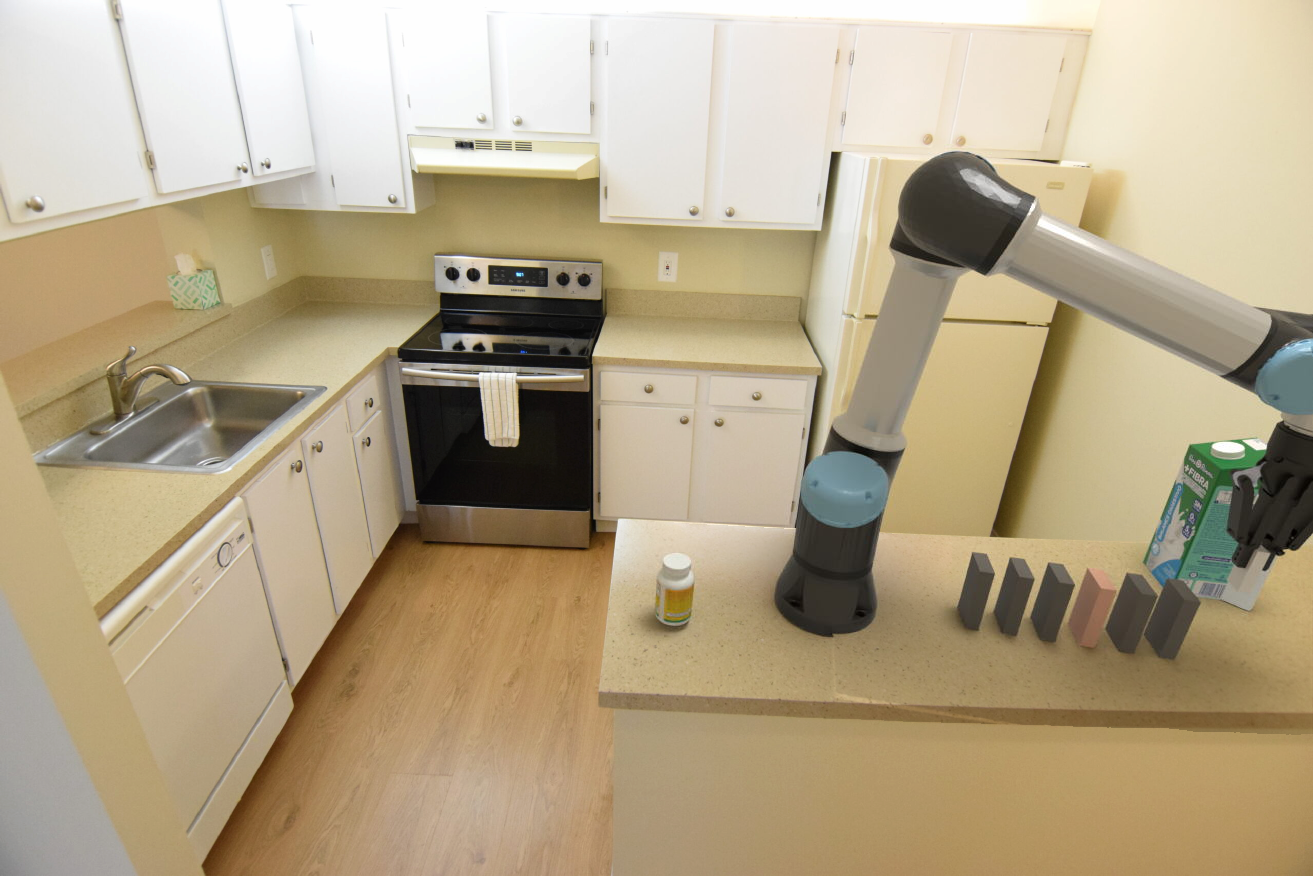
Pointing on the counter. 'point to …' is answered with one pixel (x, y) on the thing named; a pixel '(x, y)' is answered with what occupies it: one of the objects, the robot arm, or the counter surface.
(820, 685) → the counter surface
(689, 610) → the supplement bottle
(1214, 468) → the milk carton
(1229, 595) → the external hard drive
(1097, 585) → the domino
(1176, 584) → the domino
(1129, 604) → the domino
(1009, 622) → the domino
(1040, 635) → the domino
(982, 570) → the domino
